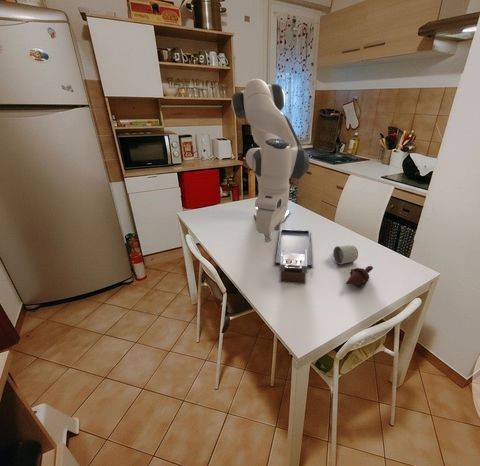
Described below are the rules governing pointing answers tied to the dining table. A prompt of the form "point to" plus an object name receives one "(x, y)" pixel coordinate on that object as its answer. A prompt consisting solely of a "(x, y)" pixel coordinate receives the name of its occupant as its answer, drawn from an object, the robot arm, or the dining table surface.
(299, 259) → the key
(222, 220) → the dining table surface
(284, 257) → the tip dish
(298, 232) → the tray
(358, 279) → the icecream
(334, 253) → the ceramic mug
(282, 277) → the dark brown block
